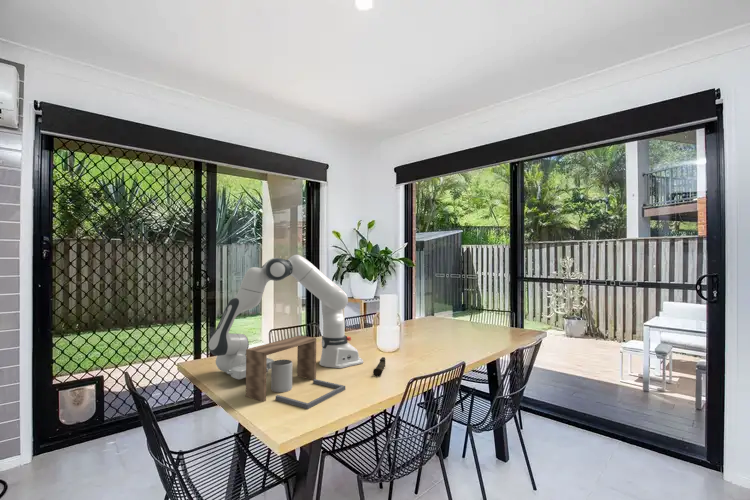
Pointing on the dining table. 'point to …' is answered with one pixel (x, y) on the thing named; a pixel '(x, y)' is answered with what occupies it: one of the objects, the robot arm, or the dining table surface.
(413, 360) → the dining table surface
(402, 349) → the dining table surface
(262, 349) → the wooden bridge arch
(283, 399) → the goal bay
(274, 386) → the mug
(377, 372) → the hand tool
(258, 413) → the dining table surface
